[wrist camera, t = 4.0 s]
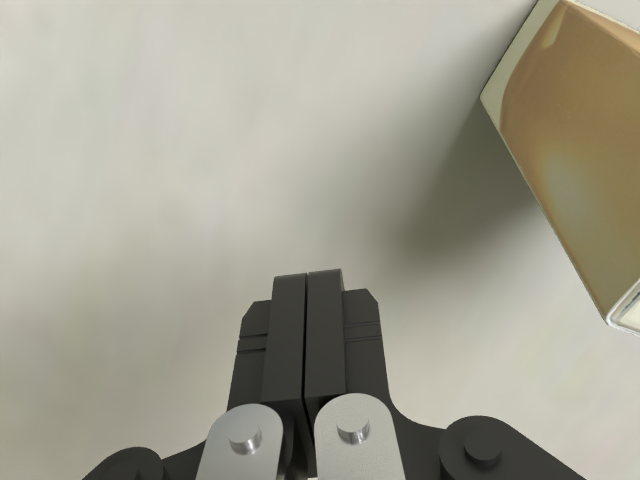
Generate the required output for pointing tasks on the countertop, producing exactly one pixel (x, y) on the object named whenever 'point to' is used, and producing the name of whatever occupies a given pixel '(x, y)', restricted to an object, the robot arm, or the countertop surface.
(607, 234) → the skincare box
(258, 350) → the robot arm
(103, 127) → the countertop surface
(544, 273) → the countertop surface
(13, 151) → the countertop surface
